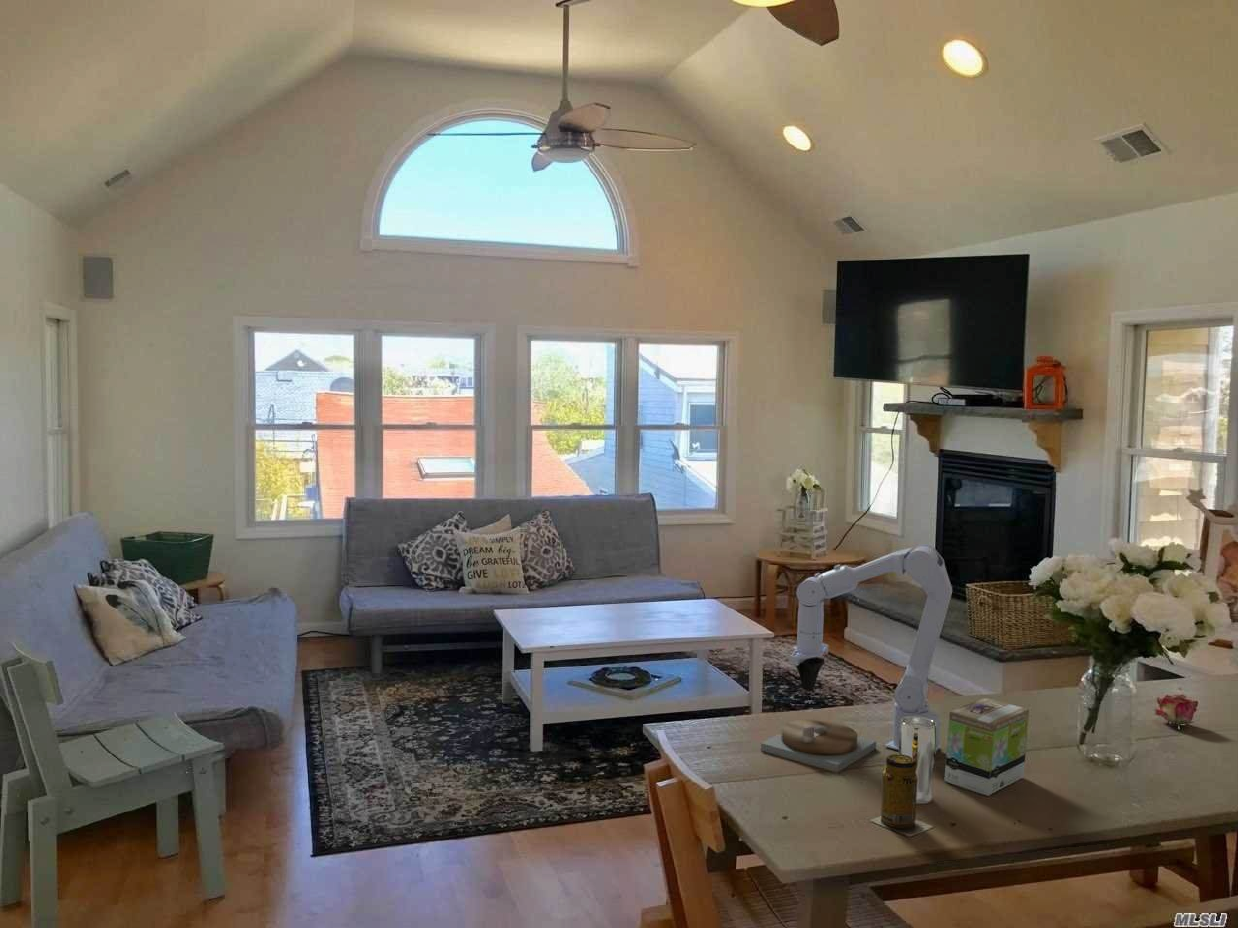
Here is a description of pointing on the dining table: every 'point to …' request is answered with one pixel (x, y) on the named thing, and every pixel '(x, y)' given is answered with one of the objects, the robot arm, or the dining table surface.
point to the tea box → (986, 745)
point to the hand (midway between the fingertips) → (807, 689)
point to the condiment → (900, 796)
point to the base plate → (821, 761)
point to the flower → (1176, 709)
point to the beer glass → (920, 750)
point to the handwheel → (819, 737)
